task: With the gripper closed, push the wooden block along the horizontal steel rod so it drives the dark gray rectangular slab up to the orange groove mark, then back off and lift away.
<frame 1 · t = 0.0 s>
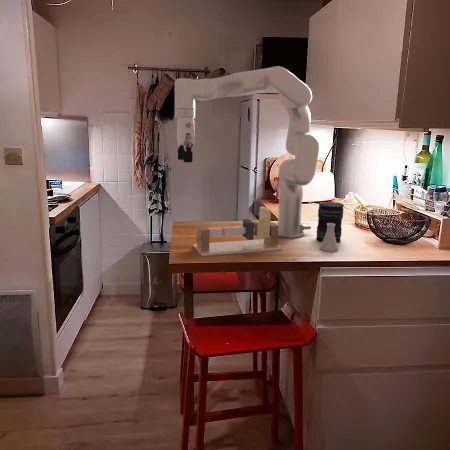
hand: (184, 161, 166), 31 cm above the breakfast bar, fingers open, 9 cm apart
flask: (328, 250, 167), on the breakfast bar
storage jar: (328, 240, 180), on the breakfast bar
pipe rig: (237, 248, 166), on the breakfast bar
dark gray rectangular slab: (248, 229, 165), point 7 cm above the breakfast bar, slide at -10.0 cm
wooden block: (260, 222, 166), point 10 cm above the breakfast bar, slide at 0.0 cm
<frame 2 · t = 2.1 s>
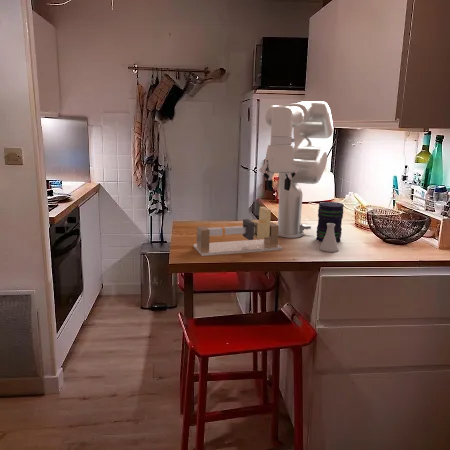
hand: (278, 189, 165), 22 cm above the breakfast bar, fingers open, 6 cm apart
nothing on the breakfast bar moved.
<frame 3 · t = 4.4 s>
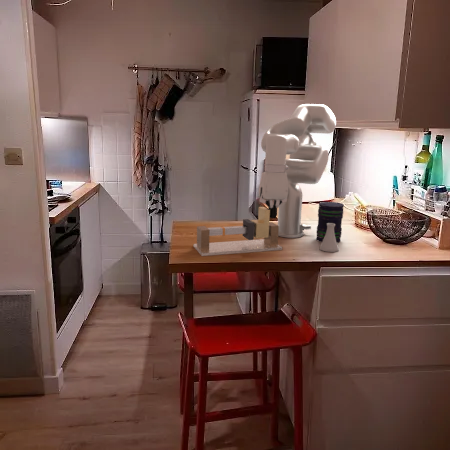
hand: (272, 217, 167), 11 cm above the breakfast bar, fingers closed
wooden block: (259, 222, 166), point 10 cm above the breakfast bar, slide at 0.4 cm, touching gripper
everything else where it was.
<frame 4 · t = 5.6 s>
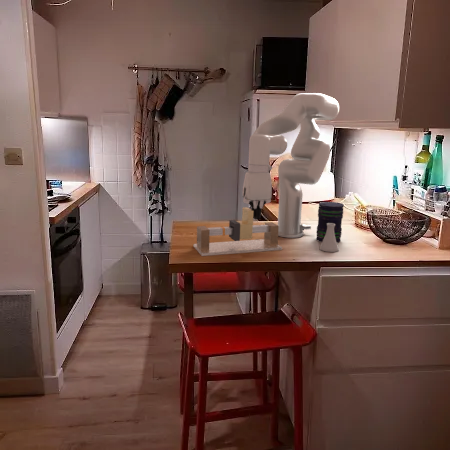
hand: (256, 218, 165), 11 cm above the breakfast bar, fingers closed
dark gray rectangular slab: (234, 230, 164), point 7 cm above the breakfast bar, slide at -4.5 cm, touching wooden block
wooden block: (243, 223, 164), point 10 cm above the breakfast bar, slide at 7.0 cm, touching gripper, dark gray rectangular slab
everything else where it was.
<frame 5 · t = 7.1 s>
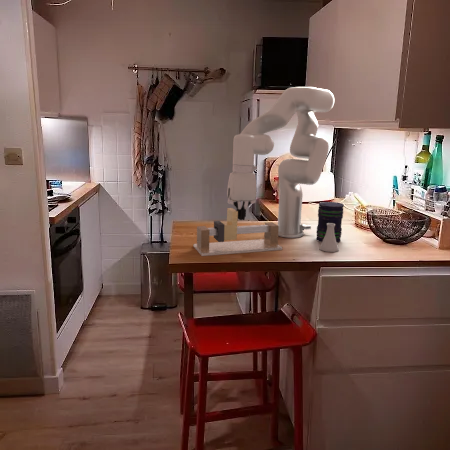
hand: (241, 219, 163), 11 cm above the breakfast bar, fingers closed
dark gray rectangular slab: (218, 231, 162), point 7 cm above the breakfast bar, slide at 1.5 cm, touching wooden block
wooden block: (228, 224, 162), point 10 cm above the breakfast bar, slide at 13.0 cm, touching gripper, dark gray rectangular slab
everything else where it was.
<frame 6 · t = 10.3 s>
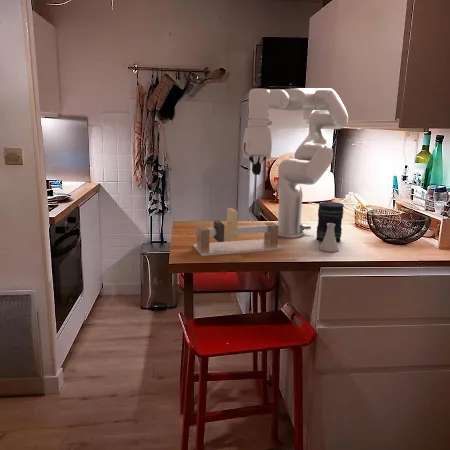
hand: (256, 174, 165), 27 cm above the breakfast bar, fingers closed
wooden block: (228, 224, 162), point 10 cm above the breakfast bar, slide at 13.1 cm, touching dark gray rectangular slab
everything else where it was.
at the end: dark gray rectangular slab slide at 1.6 cm; wooden block slide at 13.1 cm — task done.
